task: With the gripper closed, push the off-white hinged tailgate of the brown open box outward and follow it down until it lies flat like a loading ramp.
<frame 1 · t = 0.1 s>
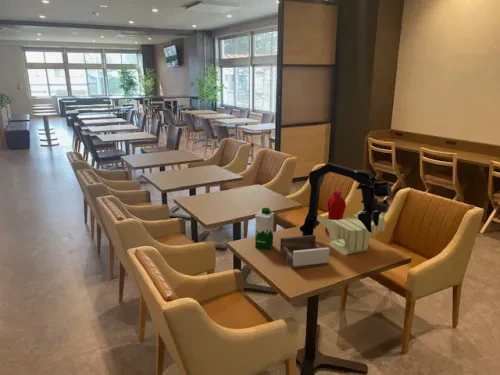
hand: (373, 228, 180), 15 cm above the table, tool pointing down, fingers open, 9 cm apart
brown open box: (303, 259, 184), on the table
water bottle: (334, 235, 212), on the table
tailgate: (311, 256, 174), point 5 cm above the table, hinge at 0.0°
slatted curved stool: (348, 248, 195), on the table
milk carton: (263, 246, 197), on the table
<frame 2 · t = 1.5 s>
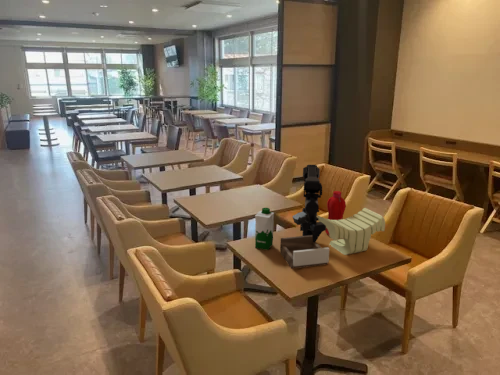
hand: (309, 238, 178), 12 cm above the table, tool pointing down, fingers open, 9 cm apart
nothing on the table moved.
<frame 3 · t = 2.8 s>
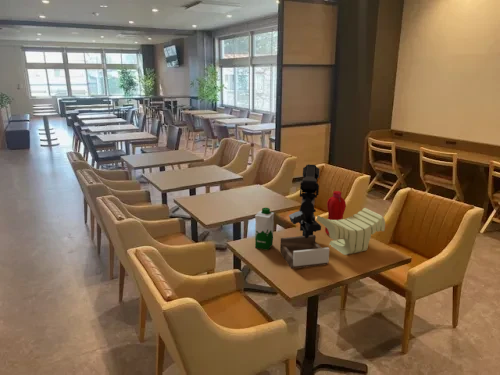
hand: (306, 237, 178), 12 cm above the table, tool pointing down, fingers closed
nothing on the table moved.
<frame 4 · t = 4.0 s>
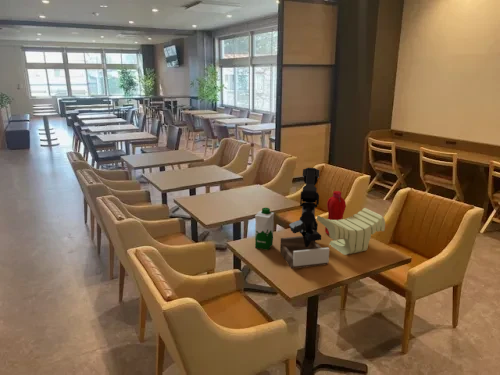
hand: (306, 246, 179), 8 cm above the table, tool pointing down, fingers closed
nothing on the table moved.
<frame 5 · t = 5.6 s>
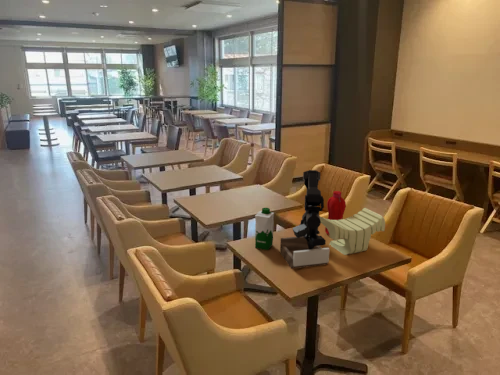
hand: (310, 251, 174), 8 cm above the table, tool pointing down, fingers closed
tailgate: (311, 256, 174), point 5 cm above the table, hinge at 1.6°, touching gripper
everything else where it was.
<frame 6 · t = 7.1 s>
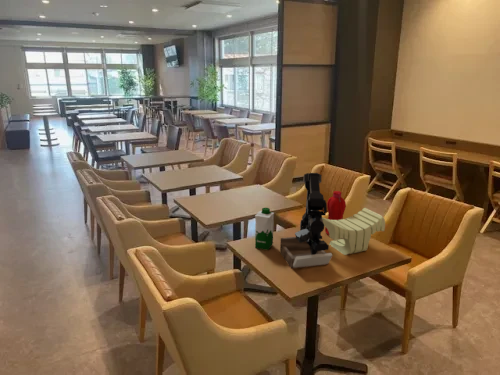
hand: (312, 256, 172), 7 cm above the table, tool pointing down, fingers closed, pressing on tailgate
tailgate: (312, 260, 173), point 5 cm above the table, hinge at 31.4°, touching gripper
everything else where it was.
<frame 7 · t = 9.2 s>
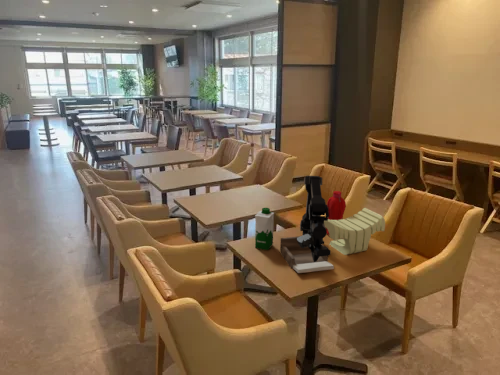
hand: (314, 261, 170), 5 cm above the table, tool pointing down, fingers closed
tailgate: (313, 266, 172), point 2 cm above the table, hinge at 80.6°
everything else where it was.
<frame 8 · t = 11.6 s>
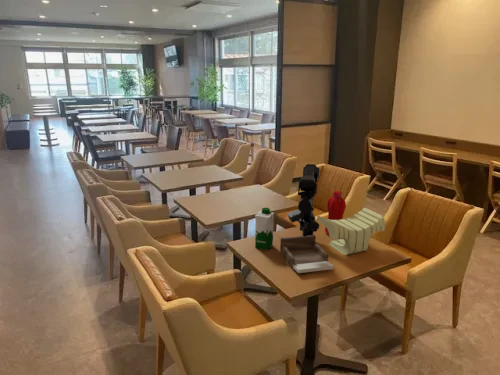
hand: (304, 236, 180), 12 cm above the table, tool pointing down, fingers closed
nothing on the table moved.
at the end: tailgate at +81° (first picture: +0°); slatted curved stool moved 0.2 cm from its start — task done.
